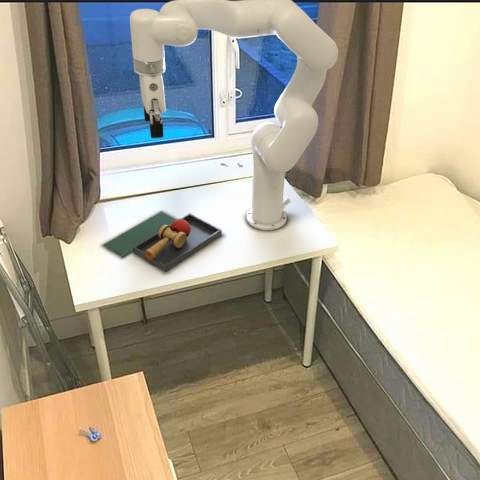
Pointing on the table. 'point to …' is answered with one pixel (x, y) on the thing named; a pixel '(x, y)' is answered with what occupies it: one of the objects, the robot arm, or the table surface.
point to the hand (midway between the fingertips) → (154, 128)
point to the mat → (138, 234)
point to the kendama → (170, 237)
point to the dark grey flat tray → (172, 255)
